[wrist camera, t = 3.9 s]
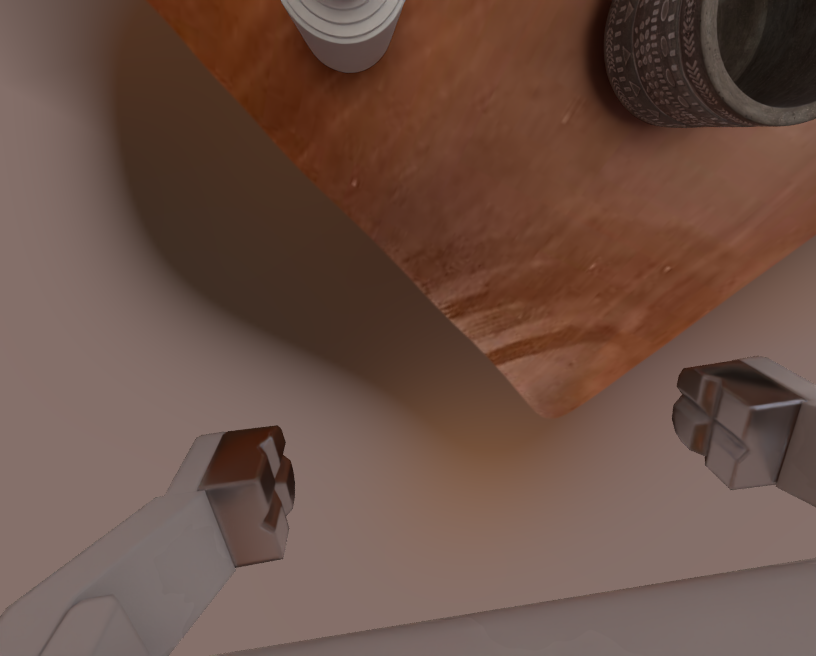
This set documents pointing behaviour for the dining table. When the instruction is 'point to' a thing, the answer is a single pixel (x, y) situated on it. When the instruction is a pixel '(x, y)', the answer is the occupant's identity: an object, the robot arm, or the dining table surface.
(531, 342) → the dining table surface
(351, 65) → the bottle
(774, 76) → the planter
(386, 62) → the dining table surface
